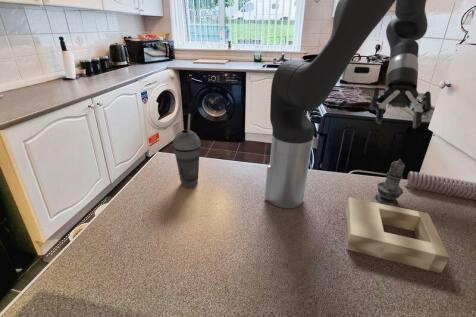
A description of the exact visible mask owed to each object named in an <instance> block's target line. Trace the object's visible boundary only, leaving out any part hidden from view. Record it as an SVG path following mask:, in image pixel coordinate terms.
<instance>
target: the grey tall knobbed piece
mask: <svg viewBox="0 0 476 317" xmlns="http://www.w3.org/2000/svg"><path fill="white" fill-rule="evenodd" d="M405 168H406V166H405V163H404V162H402V159H401V158H399V159H398V160H395V161H392V162H391V164H390V168H389V171H387V172H386V177H385V181H381V182H378V183H377V186H376V187H377V191H378V193H377V194H375V197H374V199H375V200H376V201H377V203H379V204H384V205H389V206H394V207H396V206H397V205H398V204H399V201H398V199H399V198H400V196H401V195H403V194H404V190H403V188H402V187H401V186H400V182H401V180H402V179H403V178H404V176H403V173H404V170H405Z"/></svg>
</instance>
